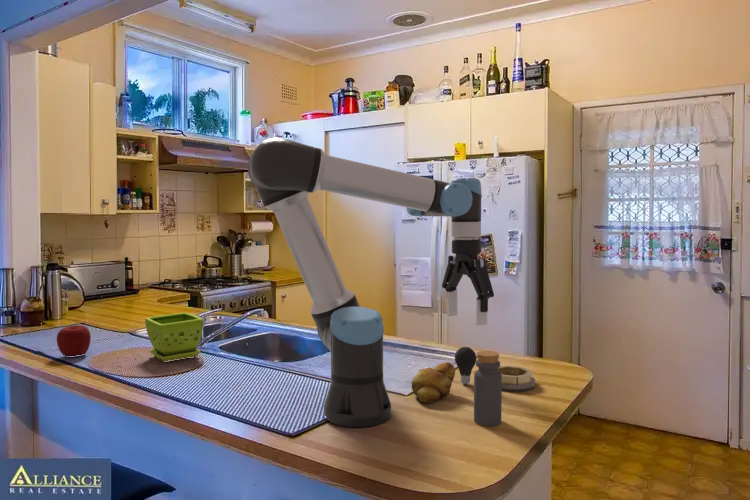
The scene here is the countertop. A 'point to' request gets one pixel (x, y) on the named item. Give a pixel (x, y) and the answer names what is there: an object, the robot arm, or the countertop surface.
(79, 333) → the apple
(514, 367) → the octagonal rimmed dish
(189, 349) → the flower pot
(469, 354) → the light bulb
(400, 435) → the countertop surface
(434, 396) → the bread roll
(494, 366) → the bottle
